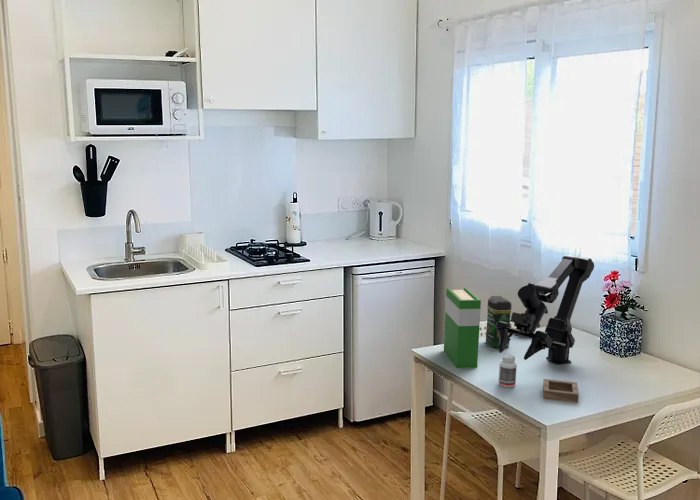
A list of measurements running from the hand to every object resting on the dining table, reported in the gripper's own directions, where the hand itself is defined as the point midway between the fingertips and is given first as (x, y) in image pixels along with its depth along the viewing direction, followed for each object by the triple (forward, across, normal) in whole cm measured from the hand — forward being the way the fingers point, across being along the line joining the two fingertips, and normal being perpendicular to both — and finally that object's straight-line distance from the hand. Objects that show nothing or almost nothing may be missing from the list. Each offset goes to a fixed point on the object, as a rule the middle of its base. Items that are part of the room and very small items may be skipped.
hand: (512, 355), depth 234 cm
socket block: (+4, +16, +9) cm, 19 cm away
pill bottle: (+8, 0, +5) cm, 10 cm away
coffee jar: (-15, -25, +28) cm, 40 cm away
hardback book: (+2, -25, +12) cm, 28 cm away
